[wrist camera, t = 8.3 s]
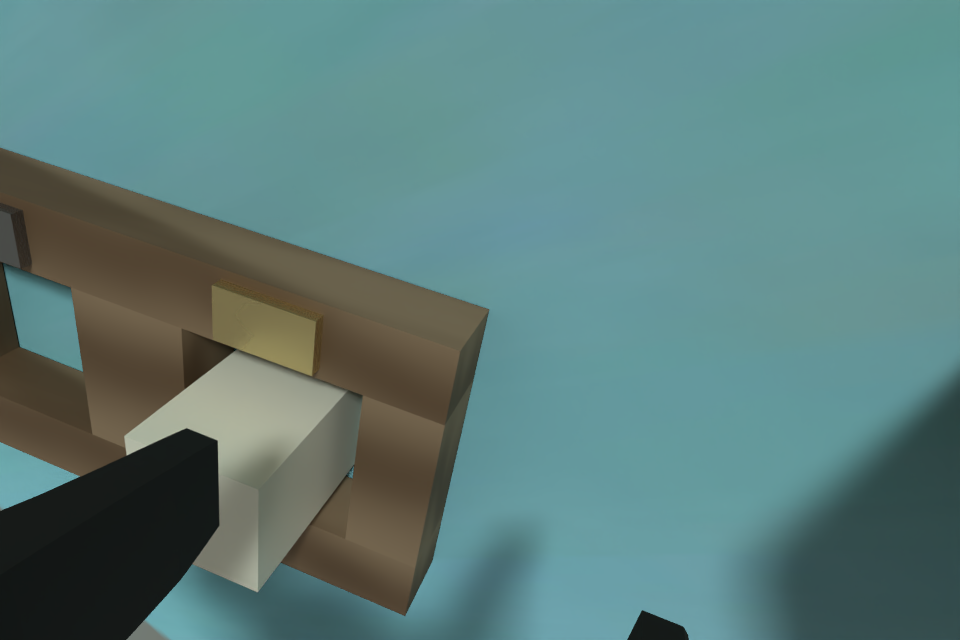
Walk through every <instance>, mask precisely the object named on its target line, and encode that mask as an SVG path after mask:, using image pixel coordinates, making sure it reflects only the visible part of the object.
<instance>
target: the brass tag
mask: <svg viewBox="0 0 960 640" xmlns="http://www.w3.org/2000/svg"><path fill="white" fill-rule="evenodd" d="M323 316H324V315H321V314H318V313H316V312H313V311H310V310H307V309H304V308H301V307H298V306H296V305H293V304H290V303H287V302H284V301H281V300H278V299H275V298H273V297H270V296H267V295H264V294H261V293H258V292H255V291H253V290H250V289H247V288H244V287H241V286H238V285H235V284H232V283H230V282H227V281H224V280H219V281H218V282H216V283H214V284H213V285H212V326H213V340H215V341H217V342H220V343H223V344H226V345H228V346H231V347H234V348H236V349H239V350H242V351H245V352H247V353H250V354H253V355H255V356H258V357H261V358H264V359H266V360H269V361H272V362H274V363H277V364H280V365H283V366H285V367H288V368H291V369H293V370H296V371H299V372H301V373H304V374H307V375H310V376H313V375H314V374H315V373H316V372H317V371H318V370H319V368H320V355H321V342H322V329H323Z"/></svg>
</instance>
